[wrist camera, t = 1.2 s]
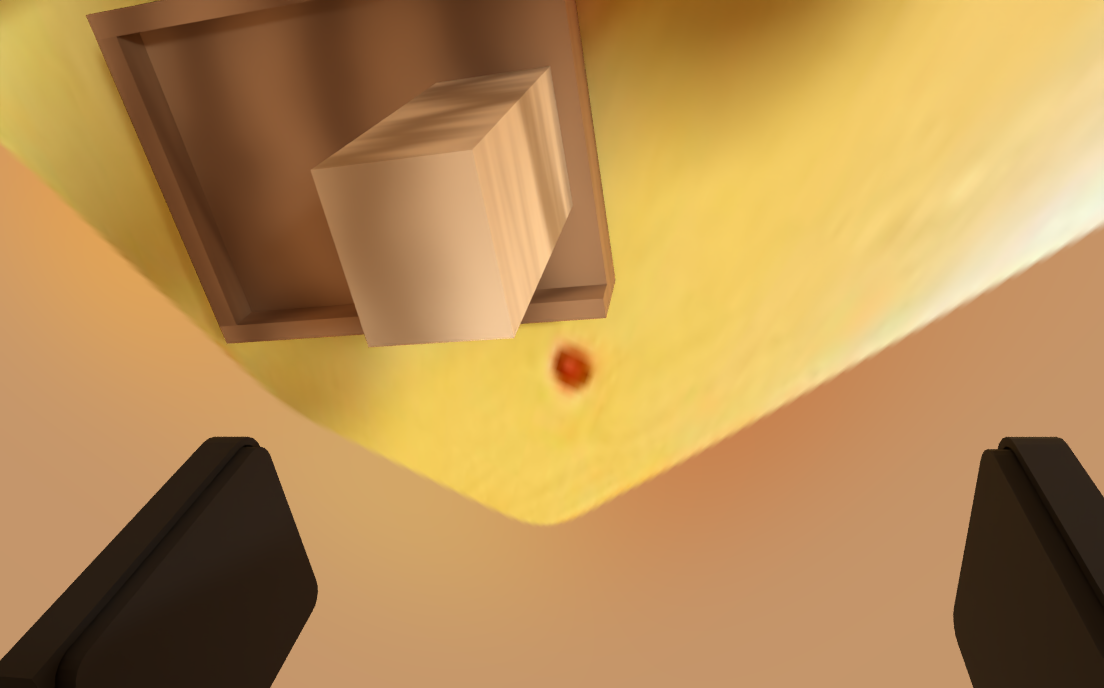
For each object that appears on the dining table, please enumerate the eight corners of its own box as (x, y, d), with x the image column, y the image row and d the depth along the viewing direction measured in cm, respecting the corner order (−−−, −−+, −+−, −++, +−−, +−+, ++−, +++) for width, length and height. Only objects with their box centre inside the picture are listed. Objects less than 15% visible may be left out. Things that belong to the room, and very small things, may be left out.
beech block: (550, 66, 31) (472, 149, 21) (572, 205, 34) (514, 338, 24) (435, 83, 32) (310, 170, 22) (467, 216, 35) (368, 347, 25)
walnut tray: (564, -79, 31) (545, -75, 27) (615, 280, 38) (605, 317, 35) (145, 3, 36) (85, 14, 32) (265, 308, 43) (226, 343, 40)
